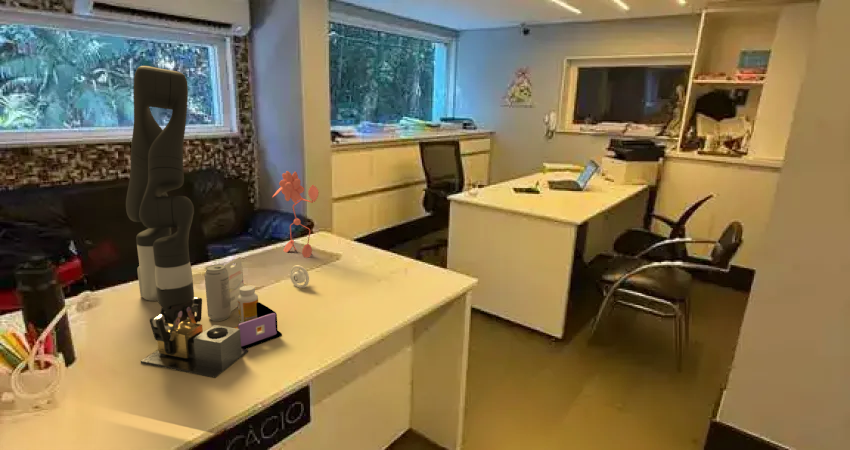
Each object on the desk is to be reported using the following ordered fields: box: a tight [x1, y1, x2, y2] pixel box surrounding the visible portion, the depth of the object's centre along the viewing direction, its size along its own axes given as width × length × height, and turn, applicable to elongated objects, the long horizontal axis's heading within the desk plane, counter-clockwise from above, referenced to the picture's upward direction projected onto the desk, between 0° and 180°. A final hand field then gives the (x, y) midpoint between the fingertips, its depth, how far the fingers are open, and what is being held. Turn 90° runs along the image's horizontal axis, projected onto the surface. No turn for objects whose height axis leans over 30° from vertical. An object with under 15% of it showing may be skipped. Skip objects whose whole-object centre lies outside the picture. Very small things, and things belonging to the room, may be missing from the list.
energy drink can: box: [204, 264, 232, 322], centre depth 129 cm, size 6×6×15 cm
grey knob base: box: [140, 324, 249, 379], centre depth 109 cm, size 20×12×8 cm, turn 75°
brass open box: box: [156, 321, 204, 358], centre depth 110 cm, size 8×6×6 cm
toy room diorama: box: [234, 301, 283, 350], centre depth 120 cm, size 12×12×7 cm
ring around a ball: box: [289, 264, 310, 289], centre depth 154 cm, size 8×6×8 cm
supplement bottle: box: [237, 285, 259, 324], centre depth 128 cm, size 5×5×10 cm
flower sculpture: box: [272, 170, 320, 259], centre depth 178 cm, size 15×26×35 cm, turn 57°
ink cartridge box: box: [224, 256, 245, 312], centre depth 136 cm, size 9×5×15 cm, turn 170°
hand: (181, 347), depth 110 cm, fingers closed on brass open box, 5 cm apart
